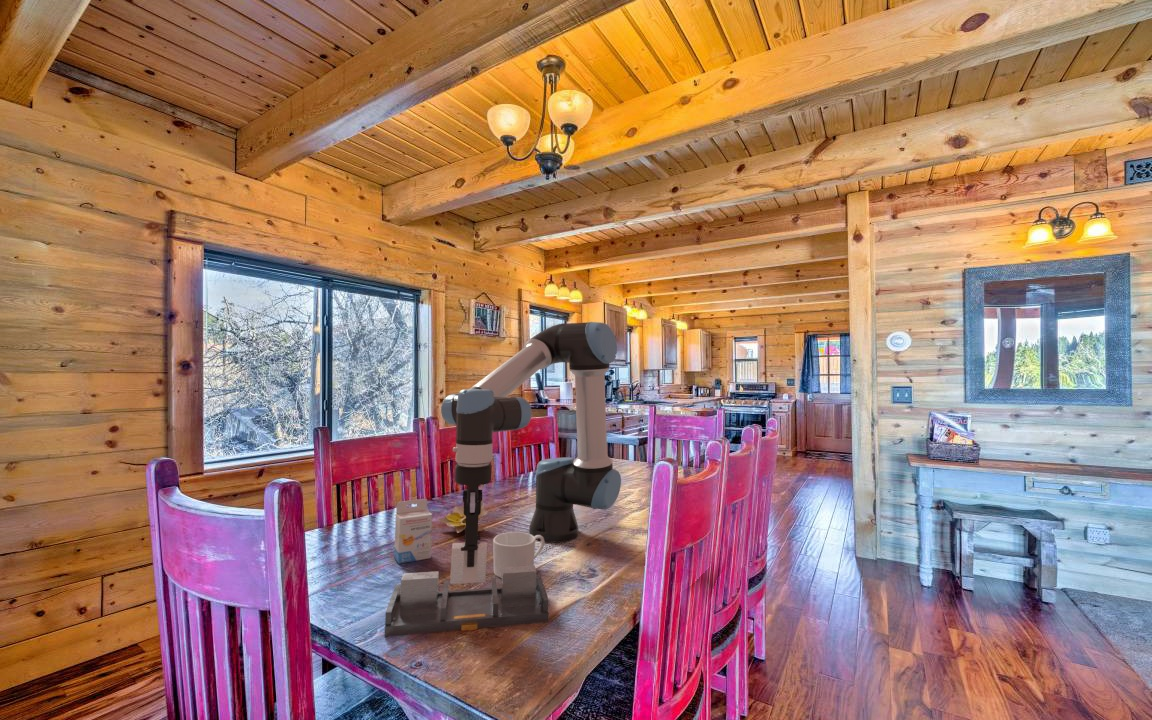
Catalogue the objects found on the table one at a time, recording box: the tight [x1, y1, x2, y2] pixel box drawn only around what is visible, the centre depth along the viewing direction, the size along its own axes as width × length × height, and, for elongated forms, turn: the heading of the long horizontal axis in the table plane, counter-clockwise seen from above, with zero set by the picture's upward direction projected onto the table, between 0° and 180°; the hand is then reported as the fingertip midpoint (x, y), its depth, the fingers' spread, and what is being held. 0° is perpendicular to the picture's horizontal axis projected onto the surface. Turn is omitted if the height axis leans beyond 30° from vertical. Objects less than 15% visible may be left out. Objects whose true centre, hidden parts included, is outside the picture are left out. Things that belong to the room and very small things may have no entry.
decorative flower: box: [437, 500, 488, 534], centre depth 150 cm, size 15×11×10 cm
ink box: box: [393, 498, 433, 565], centre depth 127 cm, size 8×5×15 cm, turn 123°
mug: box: [492, 531, 545, 579], centre depth 121 cm, size 13×10×8 cm
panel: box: [449, 541, 488, 585], centre depth 99 cm, size 7×3×7 cm, turn 102°
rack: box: [383, 565, 550, 637], centre depth 99 cm, size 31×14×8 cm, turn 102°
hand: (469, 577), depth 99 cm, fingers closed on panel, 3 cm apart
